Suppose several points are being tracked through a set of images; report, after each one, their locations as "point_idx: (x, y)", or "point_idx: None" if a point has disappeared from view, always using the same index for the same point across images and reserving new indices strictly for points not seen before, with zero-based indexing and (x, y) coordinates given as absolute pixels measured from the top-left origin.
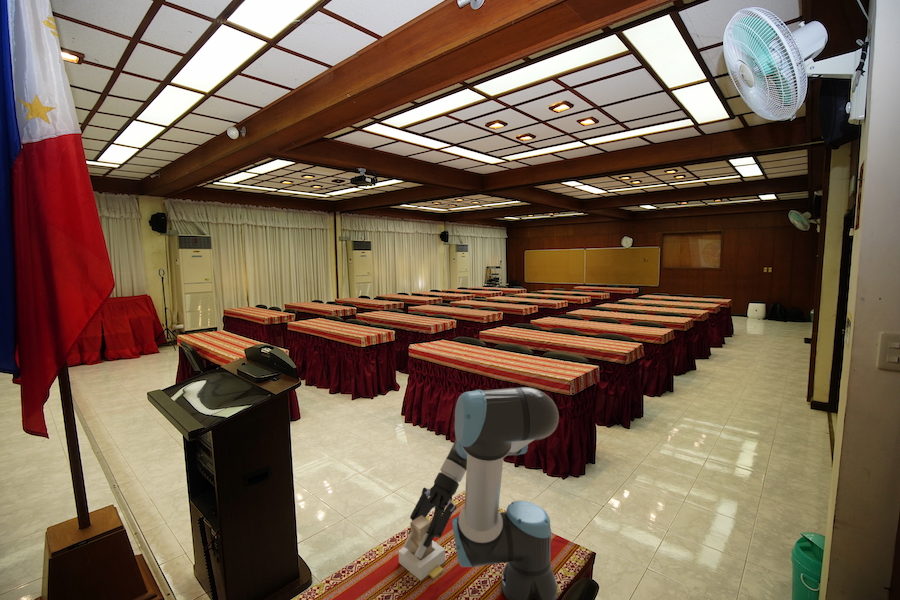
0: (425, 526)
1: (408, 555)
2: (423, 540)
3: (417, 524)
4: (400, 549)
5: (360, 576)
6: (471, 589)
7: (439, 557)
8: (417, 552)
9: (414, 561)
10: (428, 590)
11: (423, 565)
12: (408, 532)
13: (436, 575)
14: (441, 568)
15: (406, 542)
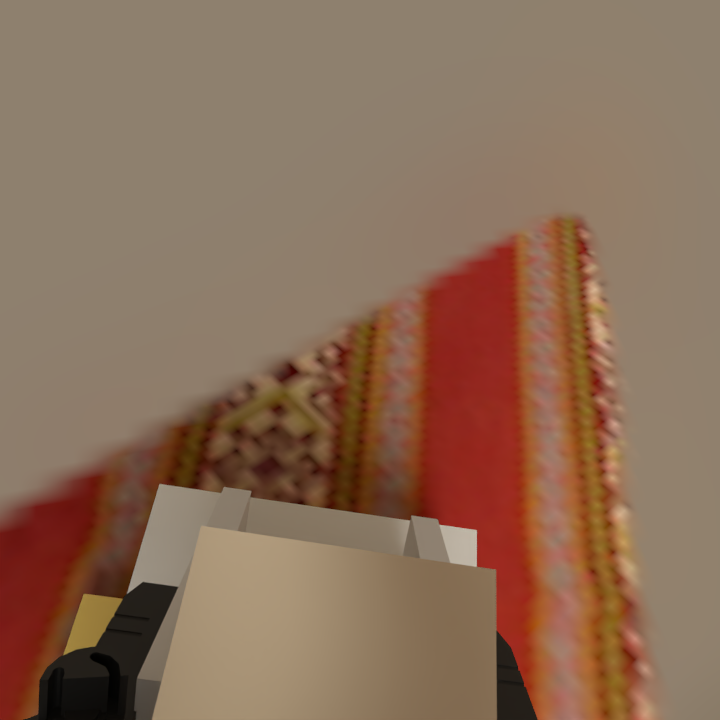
0: (161, 689)
1: (357, 541)
2: (180, 596)
3: (335, 607)
4: (475, 554)
5: (540, 338)
6: None
7: None
8: (221, 508)
9: (258, 516)
10: (78, 489)
11: (147, 524)
12: (507, 645)
13: (73, 632)
14: None
15: (427, 546)
